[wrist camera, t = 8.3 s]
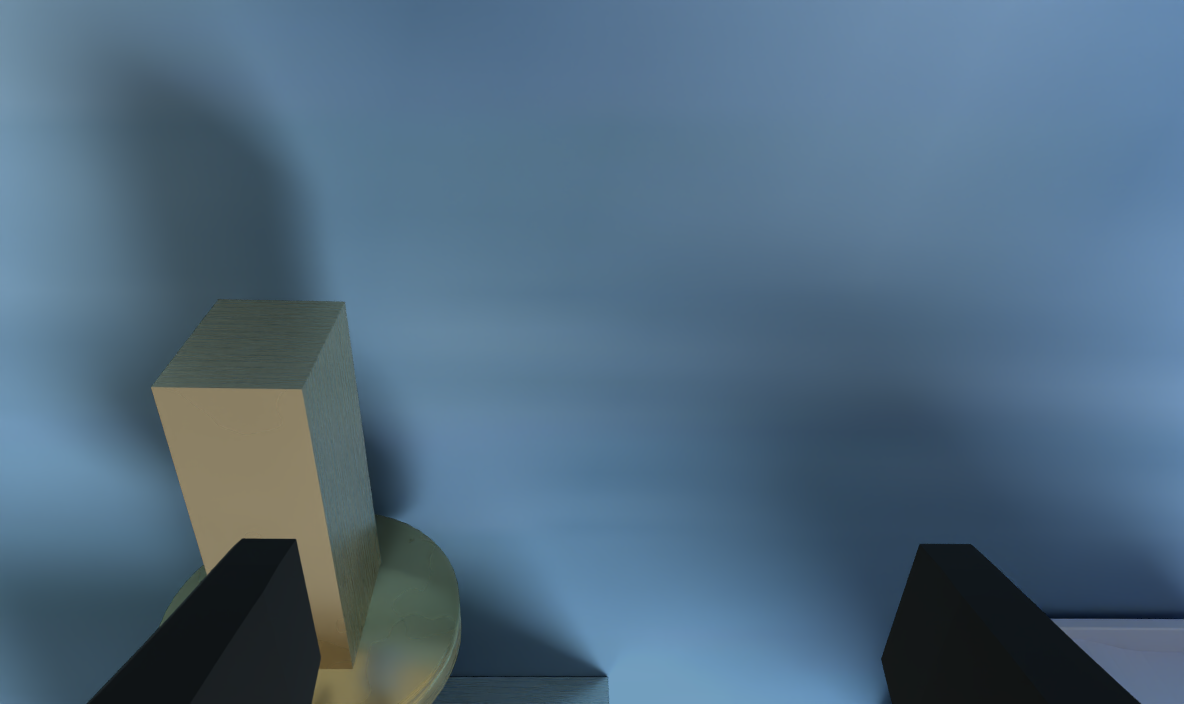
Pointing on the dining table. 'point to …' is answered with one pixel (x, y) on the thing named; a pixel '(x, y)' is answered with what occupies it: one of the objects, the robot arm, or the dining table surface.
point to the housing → (524, 690)
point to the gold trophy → (307, 493)
